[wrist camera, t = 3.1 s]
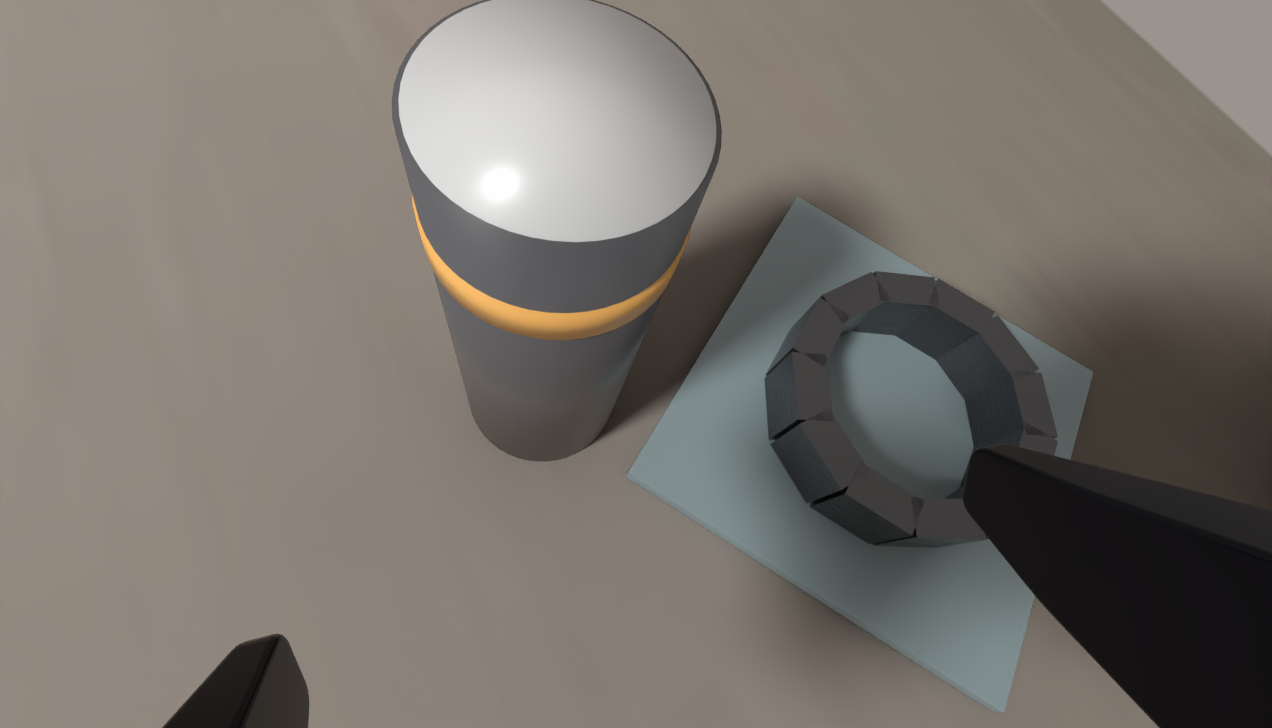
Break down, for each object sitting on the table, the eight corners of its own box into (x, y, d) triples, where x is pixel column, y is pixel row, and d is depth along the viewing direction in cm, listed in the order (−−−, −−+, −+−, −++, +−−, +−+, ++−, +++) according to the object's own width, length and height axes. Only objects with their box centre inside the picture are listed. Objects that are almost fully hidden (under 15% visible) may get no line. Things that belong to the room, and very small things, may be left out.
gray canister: (563, 492, 20) (618, 315, 8) (436, 409, 20) (307, 121, 8) (641, 373, 22) (777, 92, 10) (524, 300, 22) (522, -56, 10)
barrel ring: (959, 600, 20) (1014, 599, 18) (722, 452, 21) (747, 432, 18) (1026, 386, 24) (1079, 362, 22) (825, 265, 24) (855, 229, 22)
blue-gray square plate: (990, 710, 20) (1003, 713, 19) (625, 476, 20) (627, 473, 20) (1081, 377, 25) (1093, 372, 25) (791, 205, 26) (797, 196, 26)
